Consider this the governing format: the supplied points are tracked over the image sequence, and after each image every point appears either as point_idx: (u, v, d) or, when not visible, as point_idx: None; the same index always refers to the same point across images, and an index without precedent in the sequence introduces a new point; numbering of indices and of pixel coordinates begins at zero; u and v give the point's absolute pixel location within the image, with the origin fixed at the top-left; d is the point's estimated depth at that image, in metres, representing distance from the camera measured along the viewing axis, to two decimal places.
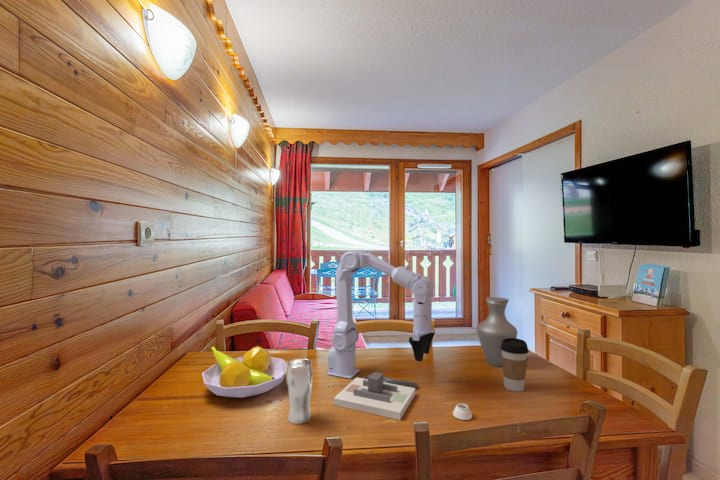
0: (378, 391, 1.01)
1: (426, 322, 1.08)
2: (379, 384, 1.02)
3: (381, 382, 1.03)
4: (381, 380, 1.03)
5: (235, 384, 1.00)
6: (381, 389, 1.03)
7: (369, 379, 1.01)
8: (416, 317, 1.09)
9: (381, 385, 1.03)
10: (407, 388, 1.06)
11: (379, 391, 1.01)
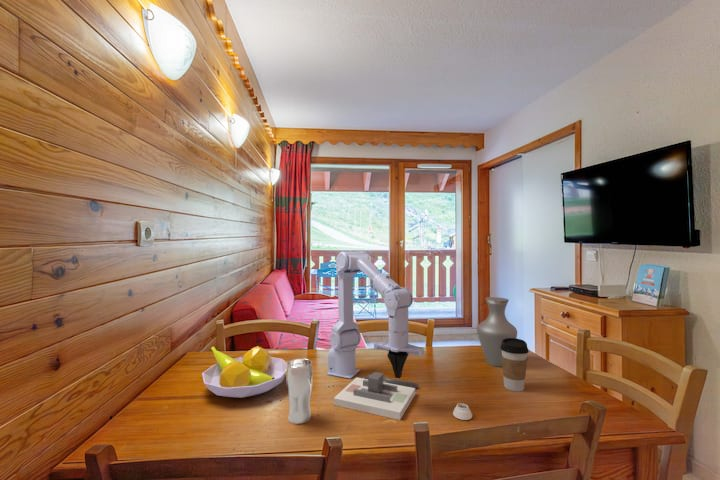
0: (378, 391, 1.01)
1: (389, 337, 0.99)
2: (379, 384, 1.02)
3: (381, 382, 1.03)
4: (381, 380, 1.03)
5: (235, 384, 1.00)
6: (381, 389, 1.03)
7: (369, 379, 1.01)
8: None
9: (381, 385, 1.03)
10: (407, 388, 1.06)
11: (379, 391, 1.01)
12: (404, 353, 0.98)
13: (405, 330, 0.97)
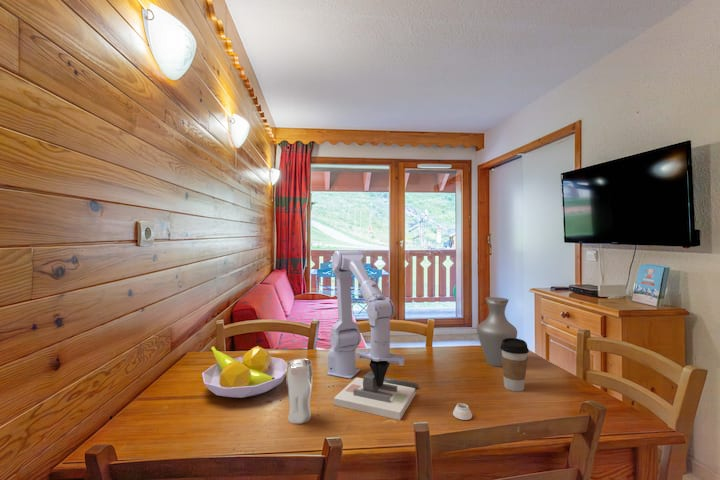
0: (373, 390, 1.01)
1: (371, 346, 1.01)
2: (375, 383, 1.02)
3: None
4: None
5: (235, 384, 1.00)
6: (377, 388, 1.04)
7: (364, 378, 1.01)
8: None
9: (376, 384, 1.03)
10: (407, 388, 1.06)
11: (374, 390, 1.02)
12: (385, 362, 1.00)
13: (385, 340, 0.99)
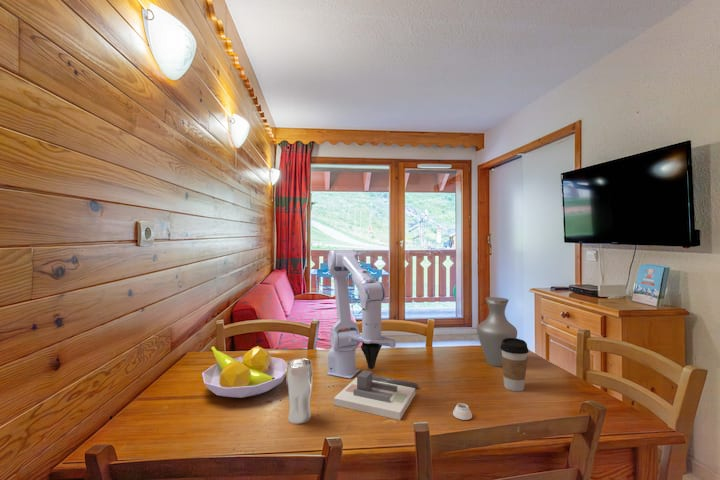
0: (367, 389, 1.02)
1: (362, 329, 1.02)
2: (368, 382, 1.03)
3: (370, 380, 1.04)
4: (370, 378, 1.04)
5: (235, 384, 1.00)
6: (370, 387, 1.04)
7: (358, 377, 1.02)
8: None
9: (370, 383, 1.04)
10: (407, 388, 1.06)
11: (368, 389, 1.03)
12: (377, 345, 1.01)
13: (376, 323, 1.00)
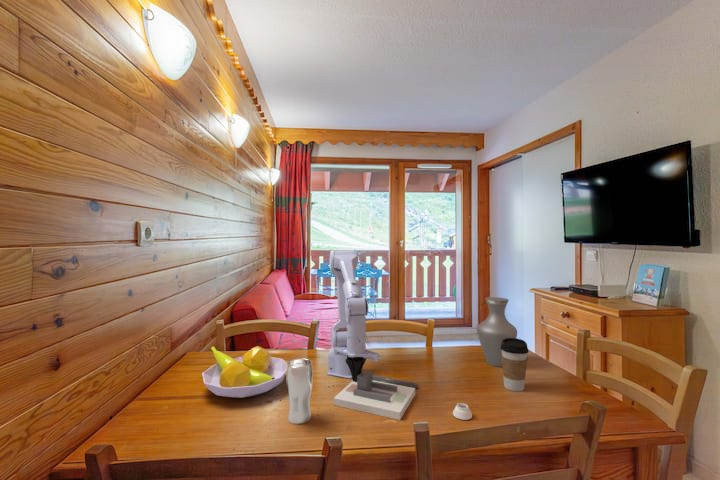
0: (367, 389, 1.02)
1: (347, 343, 1.04)
2: (368, 382, 1.03)
3: (370, 380, 1.04)
4: (370, 378, 1.04)
5: (235, 384, 1.00)
6: (370, 387, 1.04)
7: (358, 377, 1.02)
8: None
9: (370, 383, 1.04)
10: (407, 388, 1.06)
11: (368, 389, 1.03)
12: (361, 358, 1.03)
13: (358, 337, 1.02)
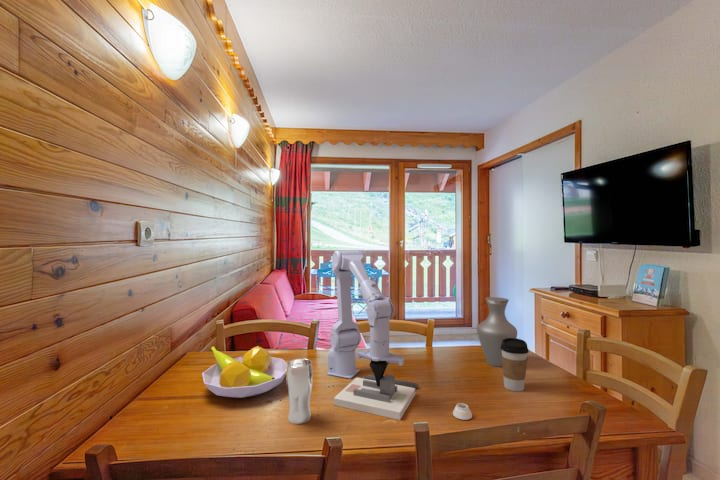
0: (390, 394, 0.99)
1: (370, 346, 1.01)
2: (391, 386, 1.00)
3: (393, 384, 1.01)
4: (393, 382, 1.01)
5: (235, 384, 1.00)
6: (393, 391, 1.02)
7: (381, 381, 0.99)
8: None
9: (393, 387, 1.01)
10: (407, 388, 1.06)
11: (391, 393, 1.00)
12: (384, 362, 1.00)
13: (385, 340, 0.99)
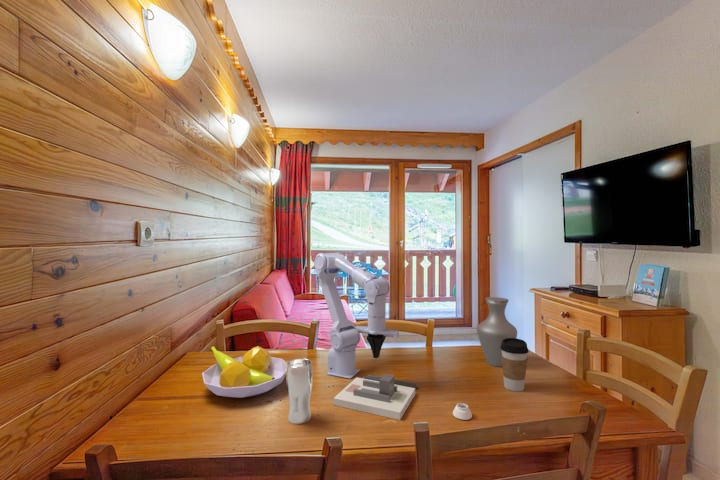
0: (390, 394, 0.99)
1: (368, 321, 1.11)
2: (391, 386, 1.00)
3: (392, 384, 1.01)
4: (392, 382, 1.01)
5: (235, 384, 1.00)
6: (393, 391, 1.02)
7: (380, 381, 0.99)
8: None
9: (392, 387, 1.01)
10: (407, 388, 1.06)
11: (390, 393, 1.00)
12: (381, 336, 1.10)
13: (383, 315, 1.09)
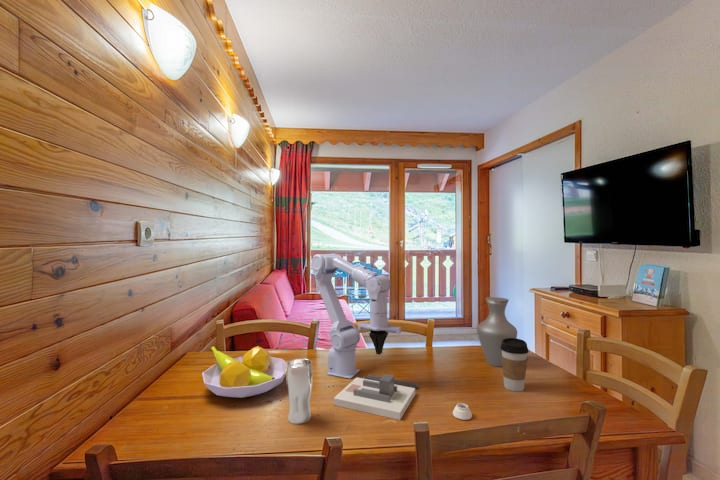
0: (390, 394, 0.99)
1: (370, 318, 1.12)
2: (391, 386, 1.00)
3: (392, 384, 1.01)
4: (392, 382, 1.01)
5: (235, 384, 1.00)
6: (393, 391, 1.02)
7: (380, 381, 0.99)
8: None
9: (392, 387, 1.01)
10: (407, 388, 1.06)
11: (390, 393, 1.00)
12: (384, 332, 1.11)
13: (385, 311, 1.11)
